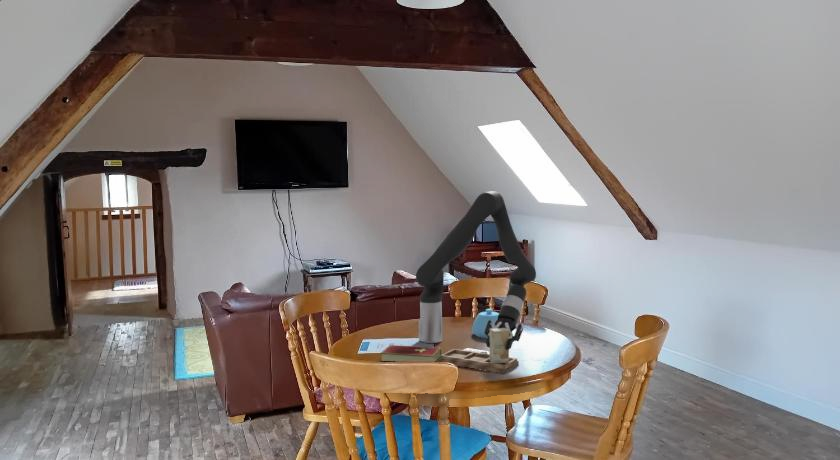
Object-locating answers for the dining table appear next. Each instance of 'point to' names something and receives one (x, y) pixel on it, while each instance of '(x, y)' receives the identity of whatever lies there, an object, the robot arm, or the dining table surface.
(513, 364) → the socket board
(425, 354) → the hardcover book
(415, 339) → the dining table surface
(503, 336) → the skincare box
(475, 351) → the card
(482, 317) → the sugar bowl
